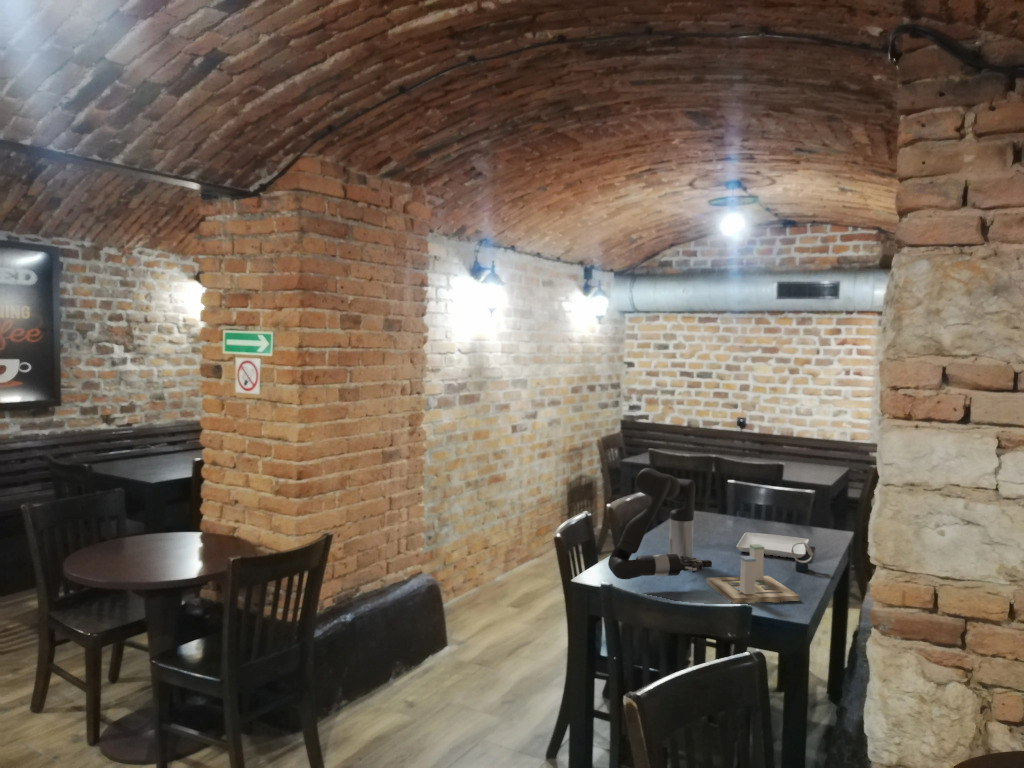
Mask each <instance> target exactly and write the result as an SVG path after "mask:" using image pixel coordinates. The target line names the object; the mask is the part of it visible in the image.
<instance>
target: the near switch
mask: <svg viewBox="0 0 1024 768" xmlns="http://www.w3.org/2000/svg"><path fill="white" fill-rule="evenodd" d="M755 566H756V559H755V558H754V557H752V556H750V555H741V556H740V576H739V577H740V587H739V590H740V591H741V592H742V593H744V594H755Z"/></svg>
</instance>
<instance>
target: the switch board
mask: <svg viewBox="0 0 1024 768" xmlns="http://www.w3.org/2000/svg"><path fill="white" fill-rule="evenodd" d="M763 577H764V578H763V580H755V594H744V593H742V592H741V591H740V590H739V587H740V576H720V577H719V576H717V577H706V584H707V585H708V586H710V588H712V589H713V590H714V591H715V592H716V593H718V592H719V593H720V594H719V593H718V594H719V595H720V596H722V595H723V596H724V597H725V599H726V598H727V599H728V600H729V601H731V602H732V603H748V602H751V603H750V604H756V603H755V602H773V603H784V602H783V601H799V602H800V595H799V594H798V593H796V592H794V591H793V590H792V589H789V588H788V587H787V586H785V585H784V584H782V583H780V582H779V581H777V580H776V579H774V578H773V577H771V576H770V575H763ZM723 596H722V597H723ZM724 597H723V598H724ZM727 599H726V600H727ZM728 600H727V601H728ZM729 601H728V602H729ZM780 601H781V602H780ZM731 602H730V603H731ZM732 603H731V604H732ZM748 604H749V603H748Z"/></svg>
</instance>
